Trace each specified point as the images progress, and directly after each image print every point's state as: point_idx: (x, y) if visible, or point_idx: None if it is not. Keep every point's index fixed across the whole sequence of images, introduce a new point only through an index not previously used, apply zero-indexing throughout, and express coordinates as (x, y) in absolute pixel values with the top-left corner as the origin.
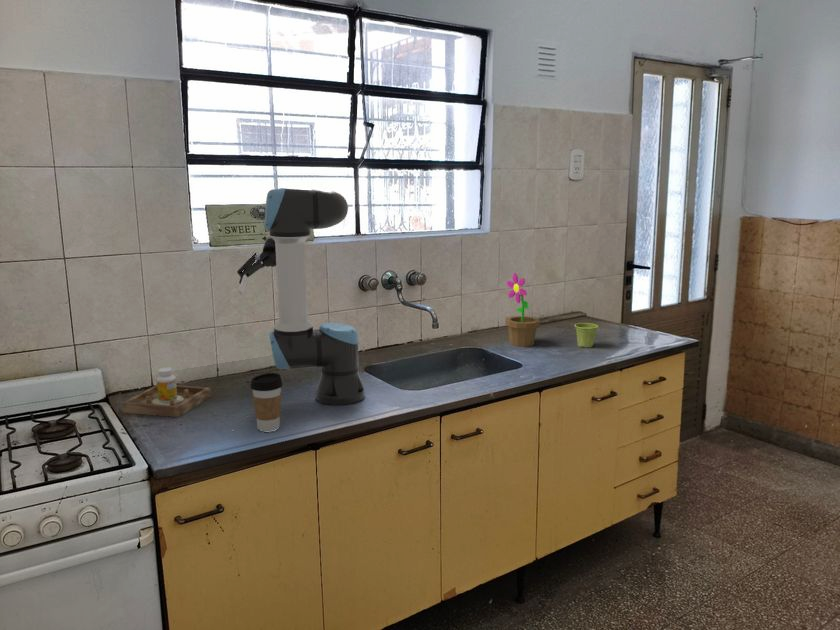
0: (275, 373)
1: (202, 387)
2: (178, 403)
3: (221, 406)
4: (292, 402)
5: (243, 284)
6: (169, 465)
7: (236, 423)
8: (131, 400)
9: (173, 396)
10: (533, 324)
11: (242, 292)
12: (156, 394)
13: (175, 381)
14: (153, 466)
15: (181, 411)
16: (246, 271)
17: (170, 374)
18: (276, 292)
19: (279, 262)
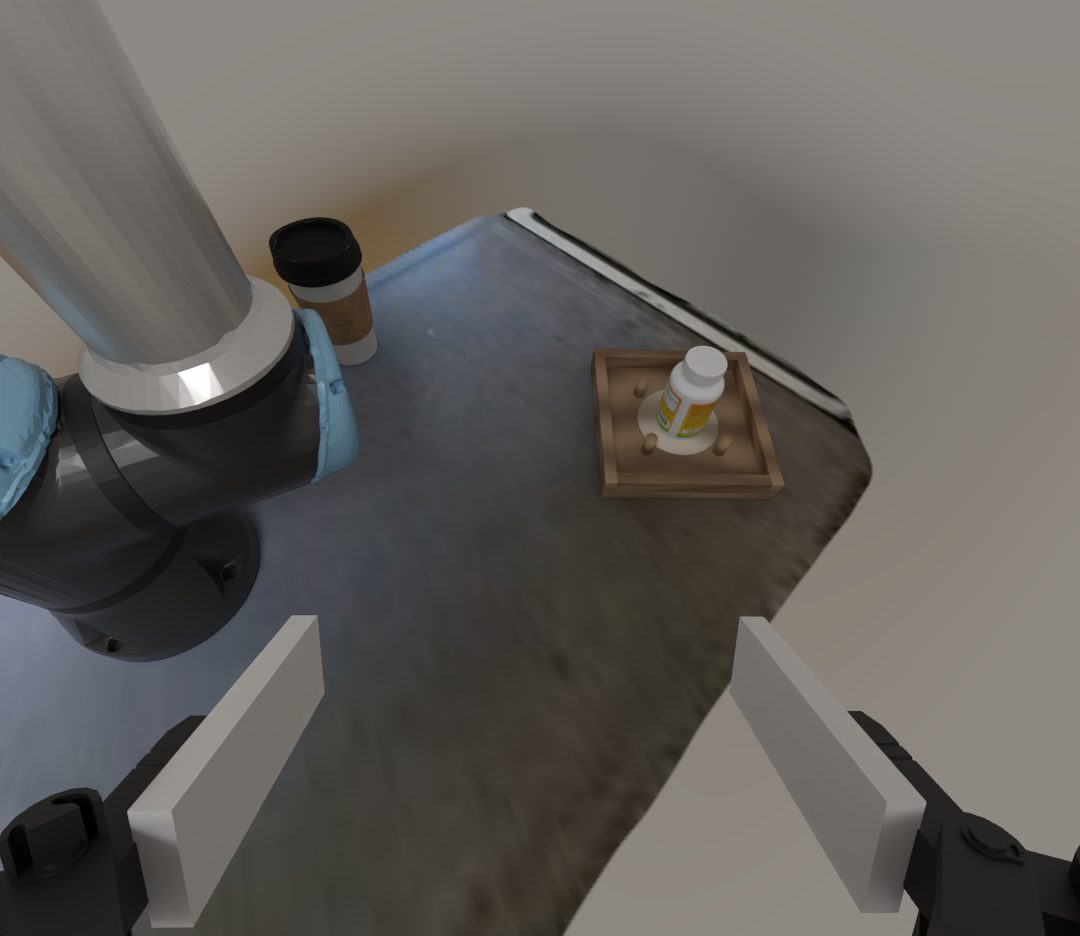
0: (288, 257)
1: (629, 481)
2: (636, 410)
3: (528, 440)
4: (333, 501)
5: (784, 699)
6: (476, 220)
7: (438, 359)
8: (739, 369)
9: (658, 405)
10: None
11: (737, 671)
12: (745, 454)
13: (670, 391)
14: (499, 216)
15: (593, 371)
16: (970, 893)
17: (682, 365)
18: (317, 625)
19: None
